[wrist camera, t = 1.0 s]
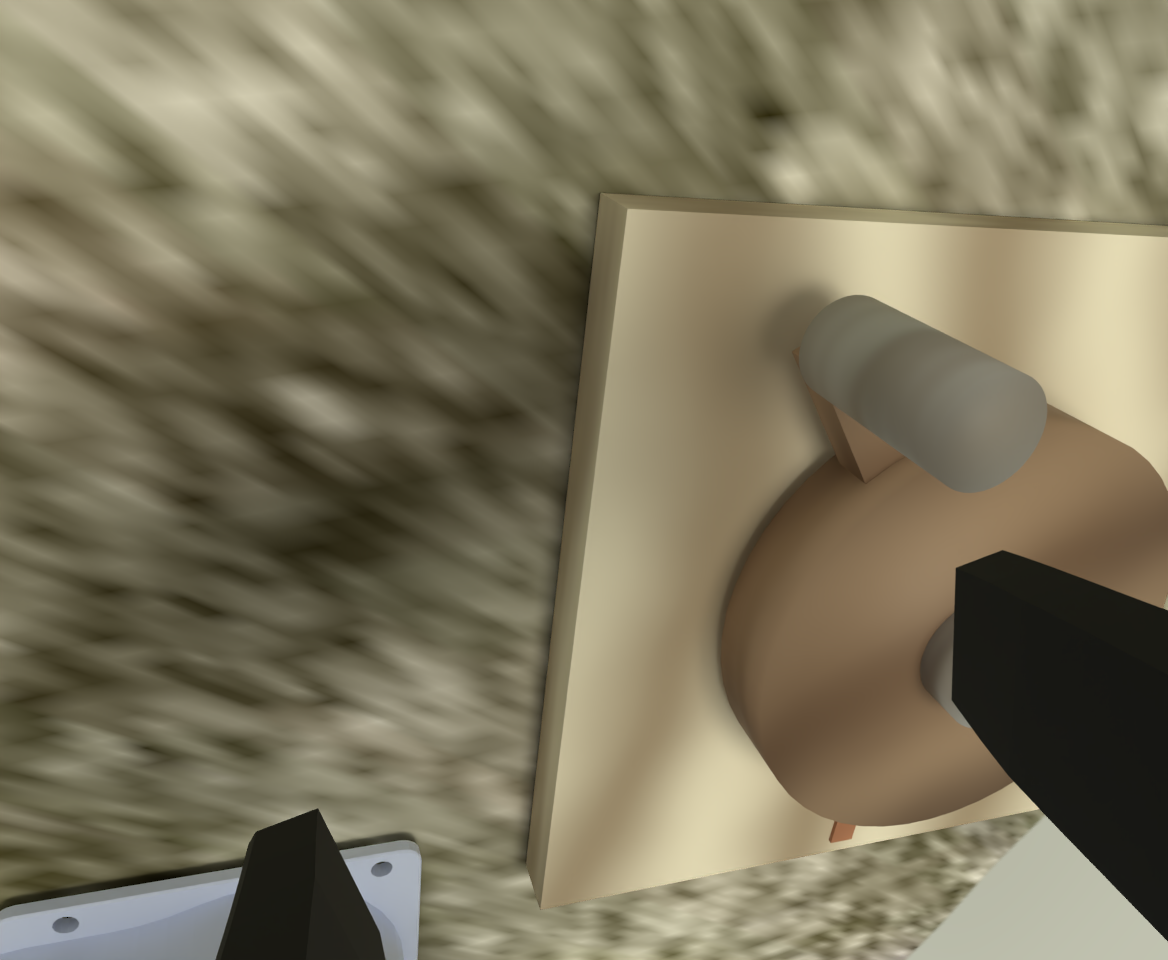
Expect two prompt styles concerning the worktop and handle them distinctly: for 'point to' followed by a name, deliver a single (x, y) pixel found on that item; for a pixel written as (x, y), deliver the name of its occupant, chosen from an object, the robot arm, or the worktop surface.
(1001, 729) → the robot arm
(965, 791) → the crank dial
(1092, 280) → the wooden cutting board
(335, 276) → the worktop surface
